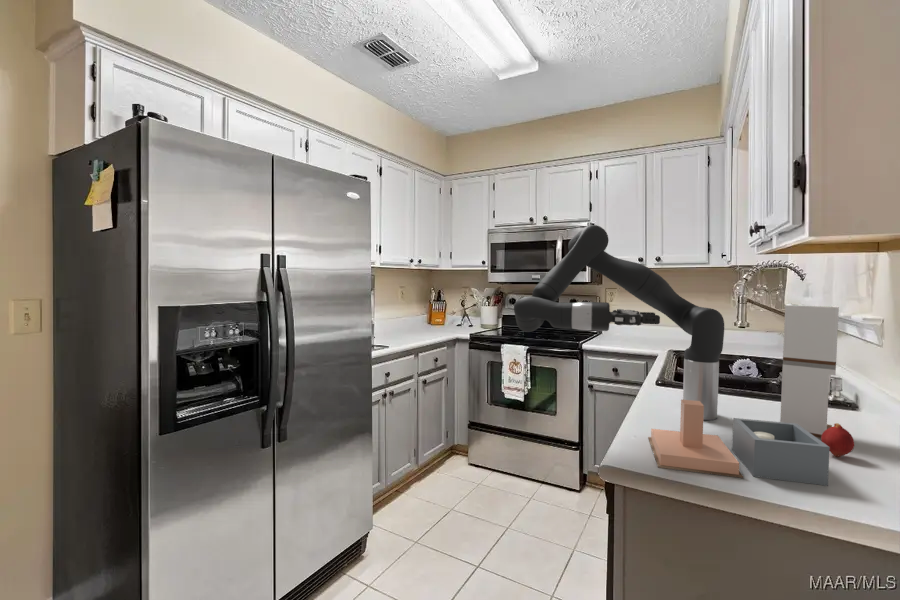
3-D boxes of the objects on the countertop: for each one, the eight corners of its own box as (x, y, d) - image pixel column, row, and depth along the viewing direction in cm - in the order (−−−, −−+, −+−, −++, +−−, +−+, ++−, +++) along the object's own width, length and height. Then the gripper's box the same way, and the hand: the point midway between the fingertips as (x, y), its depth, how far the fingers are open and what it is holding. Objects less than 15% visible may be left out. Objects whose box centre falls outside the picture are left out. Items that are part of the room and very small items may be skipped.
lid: (651, 438, 114) (652, 390, 113) (717, 445, 109) (719, 396, 108) (660, 464, 97) (661, 409, 97) (738, 474, 93) (741, 417, 92)
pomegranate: (834, 450, 107) (836, 418, 106) (860, 460, 101) (862, 426, 100) (814, 452, 106) (816, 419, 105) (839, 462, 100) (840, 428, 100)
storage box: (732, 449, 107) (733, 417, 107) (795, 456, 103) (796, 423, 102) (753, 476, 93) (754, 439, 92) (827, 485, 89) (829, 447, 88)
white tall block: (832, 444, 111) (838, 307, 109) (779, 434, 118) (785, 305, 116) (831, 432, 119) (837, 305, 117) (782, 423, 126) (787, 303, 124)
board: (648, 438, 114) (648, 436, 114) (719, 446, 109) (719, 444, 109) (657, 467, 97) (658, 465, 97) (743, 478, 92) (743, 476, 92)
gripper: (590, 303, 108) (661, 305, 103) (590, 300, 122) (654, 301, 117) (589, 333, 109) (661, 336, 104) (590, 327, 122) (653, 329, 117)
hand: (657, 318), depth 110 cm, fingers open, 8 cm apart
